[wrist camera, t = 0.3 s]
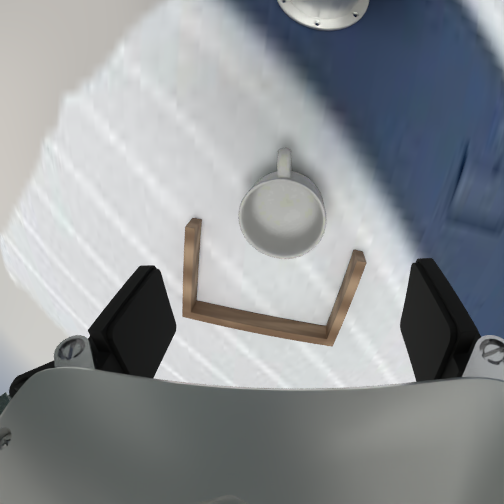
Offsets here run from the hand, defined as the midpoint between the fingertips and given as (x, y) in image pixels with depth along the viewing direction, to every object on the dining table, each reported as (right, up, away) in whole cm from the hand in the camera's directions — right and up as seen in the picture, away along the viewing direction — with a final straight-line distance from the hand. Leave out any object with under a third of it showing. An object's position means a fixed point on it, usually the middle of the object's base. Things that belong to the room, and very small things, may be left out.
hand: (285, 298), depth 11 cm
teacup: (+4, +11, +33) cm, 35 cm away
